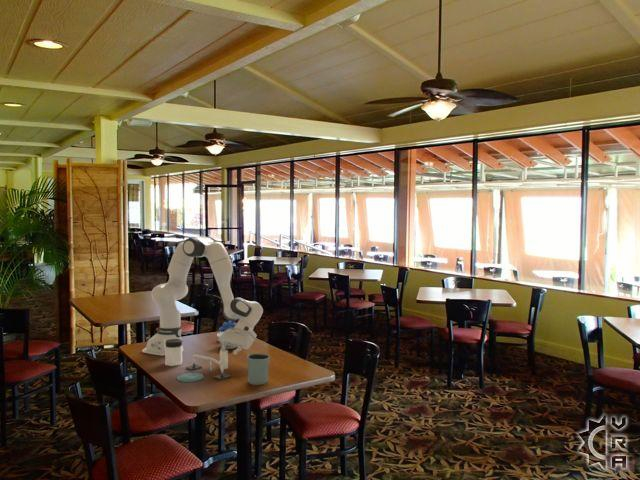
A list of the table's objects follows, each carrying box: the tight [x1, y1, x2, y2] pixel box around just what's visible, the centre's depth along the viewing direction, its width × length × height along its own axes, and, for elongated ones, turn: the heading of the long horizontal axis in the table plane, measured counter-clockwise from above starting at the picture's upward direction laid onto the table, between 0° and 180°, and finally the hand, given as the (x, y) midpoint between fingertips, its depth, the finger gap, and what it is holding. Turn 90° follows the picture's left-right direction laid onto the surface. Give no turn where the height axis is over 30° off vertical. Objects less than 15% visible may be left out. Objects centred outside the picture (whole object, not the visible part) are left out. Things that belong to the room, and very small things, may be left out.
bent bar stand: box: [185, 354, 231, 382], centre depth 244 cm, size 27×6×7 cm, turn 50°
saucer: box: [176, 372, 204, 383], centre depth 236 cm, size 12×12×1 cm
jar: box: [164, 338, 183, 367], centre depth 259 cm, size 9×8×12 cm
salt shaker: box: [219, 349, 229, 371], centre depth 252 cm, size 4×4×9 cm
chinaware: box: [216, 331, 237, 350], centre depth 292 cm, size 15×15×8 cm
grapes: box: [218, 320, 237, 333], centre depth 309 cm, size 12×7×12 cm, turn 116°
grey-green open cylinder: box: [246, 352, 270, 386], centre depth 232 cm, size 10×10×12 cm
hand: (227, 352), depth 253 cm, fingers open, 8 cm apart
